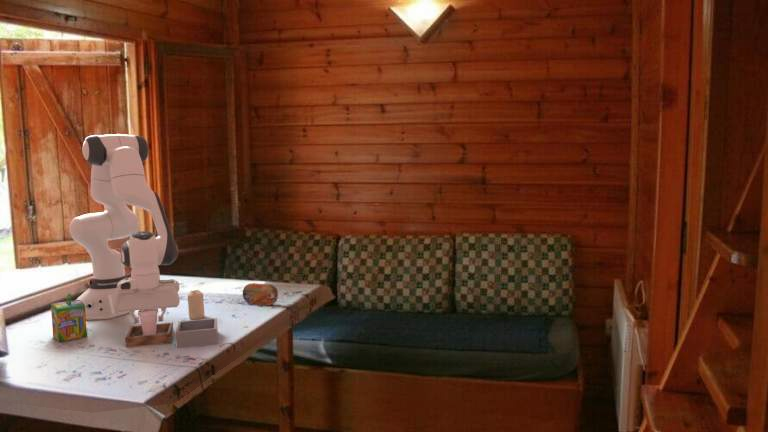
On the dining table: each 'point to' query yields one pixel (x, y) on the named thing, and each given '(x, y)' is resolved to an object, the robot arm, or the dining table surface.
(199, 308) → the candle
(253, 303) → the tin
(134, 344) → the frame
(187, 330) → the bin
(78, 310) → the chalk box
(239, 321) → the dining table surface
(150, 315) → the smoothie
